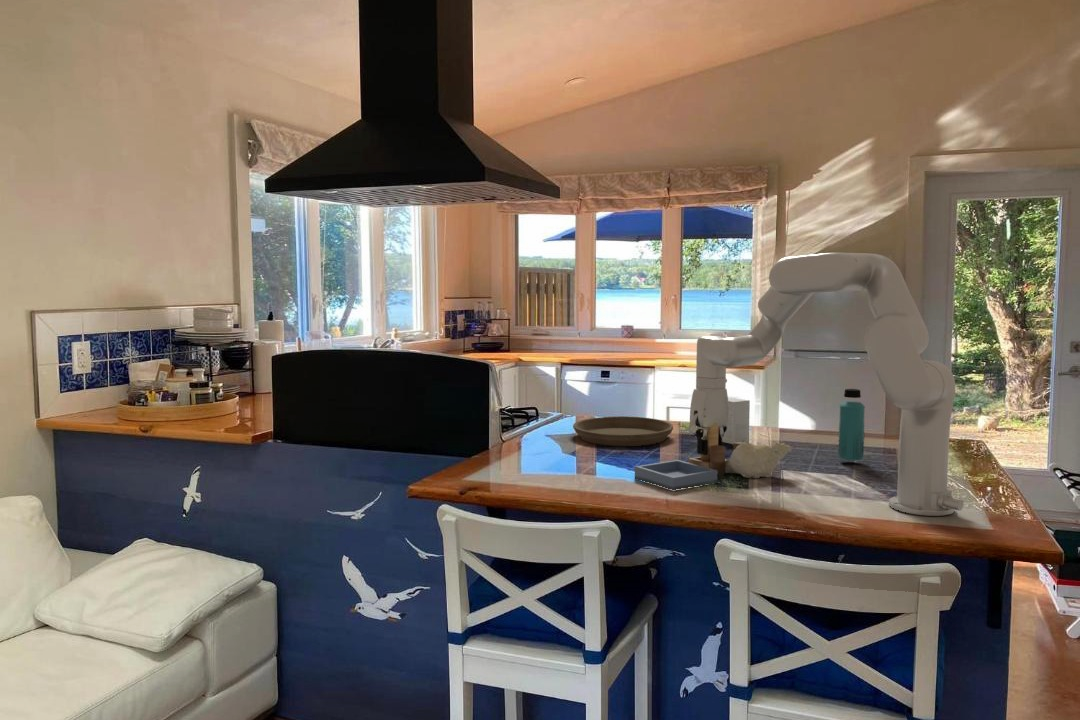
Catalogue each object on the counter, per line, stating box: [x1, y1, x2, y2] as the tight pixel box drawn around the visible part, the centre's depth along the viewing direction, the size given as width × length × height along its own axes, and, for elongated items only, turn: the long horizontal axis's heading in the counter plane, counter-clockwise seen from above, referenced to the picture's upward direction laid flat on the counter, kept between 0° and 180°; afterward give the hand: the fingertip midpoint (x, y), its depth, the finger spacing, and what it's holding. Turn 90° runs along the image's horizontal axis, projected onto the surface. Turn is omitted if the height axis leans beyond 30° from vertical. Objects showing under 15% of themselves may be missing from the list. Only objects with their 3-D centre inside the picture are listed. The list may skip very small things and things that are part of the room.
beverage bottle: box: [837, 388, 865, 461], centre depth 214 cm, size 6×7×20 cm
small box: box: [722, 397, 751, 445], centre depth 244 cm, size 8×6×13 cm
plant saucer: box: [572, 415, 674, 447], centre depth 251 cm, size 31×31×5 cm
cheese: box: [725, 440, 793, 479], centre depth 200 cm, size 15×7×15 cm
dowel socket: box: [688, 456, 728, 468], centre depth 210 cm, size 8×8×2 cm
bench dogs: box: [710, 442, 745, 476], centre depth 204 cm, size 4×12×7 cm, turn 122°
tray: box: [634, 459, 718, 490], centre depth 195 cm, size 14×14×3 cm
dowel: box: [700, 423, 719, 463], centre depth 210 cm, size 4×4×12 cm
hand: (709, 452), depth 210 cm, fingers closed on dowel, 4 cm apart
